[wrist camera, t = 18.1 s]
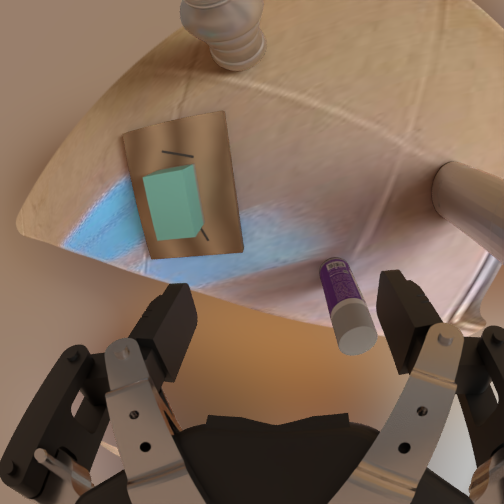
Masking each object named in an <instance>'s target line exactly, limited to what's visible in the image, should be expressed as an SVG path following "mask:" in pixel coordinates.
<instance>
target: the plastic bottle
mask: <svg viewBox="0 0 504 504" xmlns="http://www.w3.org/2000/svg"><path fill="white" fill-rule="evenodd" d="M263 5H264V3H263V0H182V2H181V6H180V19H181V22H182V25H183V26H184V28H185V29H186V30H187V31H188V32H189V33H190V34H192V35H193V36H195V37H196V38H198V39H200V40H202V41H204V42H206V43H207V44H208V45H209V47H210V52H211V55H212V58H213V59H214V61H215V62H216V63H217V64H218V65H219V66H221V67H223V68H225V69H228V70H233V71H242V70H246V69H249V68H251V67H253V66H255V65H256V64H257V63H258V62H259V61H260V60H261V59H262V57H263V56H264V54H265V52H266V48H267V41H266V38H265V36H264V34H263V32H262V31H261V29H260V28H259V22H260V19H261V16H262V12H263Z"/></svg>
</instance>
